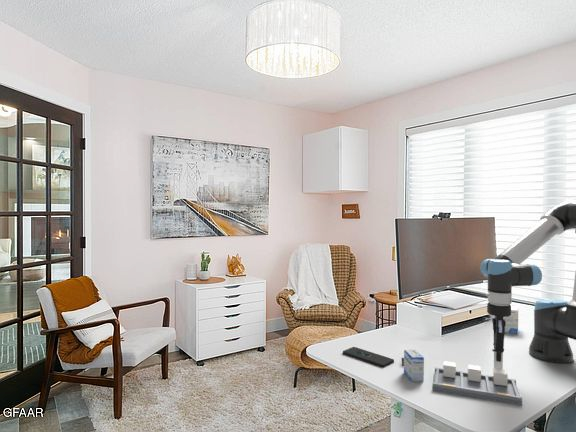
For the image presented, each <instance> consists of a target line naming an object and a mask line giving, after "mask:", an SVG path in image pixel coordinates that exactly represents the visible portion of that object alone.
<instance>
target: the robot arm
mask: <svg viewBox="0 0 576 432" xmlns="http://www.w3.org/2000/svg"><path fill="white" fill-rule="evenodd" d="M574 229H575V232H574V234H576V199H570V200H567V201H564V202H562V203H559V204H558V205H556V206H554V207H553V208H551V209H550V210H548V211H547V212H545V213H544V214H542V215H541V216H540V218H539V222H537V223H536V224H535V225H534V226H533V227H531V228H530V229H528V231H526V232H525V233H524V234H522V235H520V237H519V238H518V239H517V240H516V241H514V242H513V243H512V244H510V245H509V246H508V247H506V249H504V250H503V251H501V253H500V254H498V255H497V256H495V257H494V258H487V259H484V260H483V261H482V262H481V264H480V269H479V270H480V272H481V274H482V276H484V277H486V278H487V292H486V293H485V297H486V296H487V302H488V303H486V312H487V314H488V315H491V316H493V317H494V318H493V317H492V319H491V322H492V330H493V343H492V344H493V349H492V352H493V368H496V369H503V370H504V367H503V366H504V365H503V362H504V360H503V359H504V351H505V348H504V347H505V345H504V344H505V343H504V342H505V333H506V332H505V326H506V321H505V319H503V317H508V316H510V315H511V304H512V297H513V296H512V292H513V291H512V287H532V286H537V285H539V284H540V283H541V281H543V280H542V279H543V273H542V270H541V269H540V268H539V266H537V265H535V264H529V263H527V264H522V263H523V262H524V261H526V260H527V259H528V258H529V257H530V256H532V255H533V254H534V253H535V252H536V251H538V250H539V249H540V248H542V247H543V246H544V245H545V244H546V243H547V242H549V241H550V240H551V239H553V238H554V237H555V236H557V235H562V234H563V233H564V232H565V231H567V230H568V231H569V230H574ZM572 291H573V292H572V299H571V300H569V301H567V300H562V299H559V300H558V299H540V300H537V301H535V304H534V309H533V314H534V315H533V316H534V317H533V318H534V319H533V322H534V323H533V325H534V329H533V330H534V334H533V337H532V340H531V341H530V344H529V348H528V353H529V355H530V356H531V357H534V358H536V359H537V360H542V361H546V362H550V363H556V364H557V363H558V364H568V363H572V362H573V361H574V353H573V351H572V348H571V345H570V342H569V339H572V340H574V341H576V271H575V273H574V282H573V290H572Z"/></svg>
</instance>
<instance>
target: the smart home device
mask: <svg viewBox="0 0 576 432" xmlns="http://www.w3.org/2000/svg"><path fill="white" fill-rule="evenodd" d="M342 354H343V355H344V356H348V357H351V358H353V359H356V360H359V361H362V362H366V363H368V364H371V365H374V366H377V367H379V368H382V369H383V368H386V367H388V366H390V365H391V364H394V363H395V359H394V358H390V357H389V356H388V357H387V356H384V355H381V354H378V353H375V352H372V351H369V350H366V349H362V348H359V347H356V346H352V347H349V348H347V349H345V350H343V351H342Z"/></svg>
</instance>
